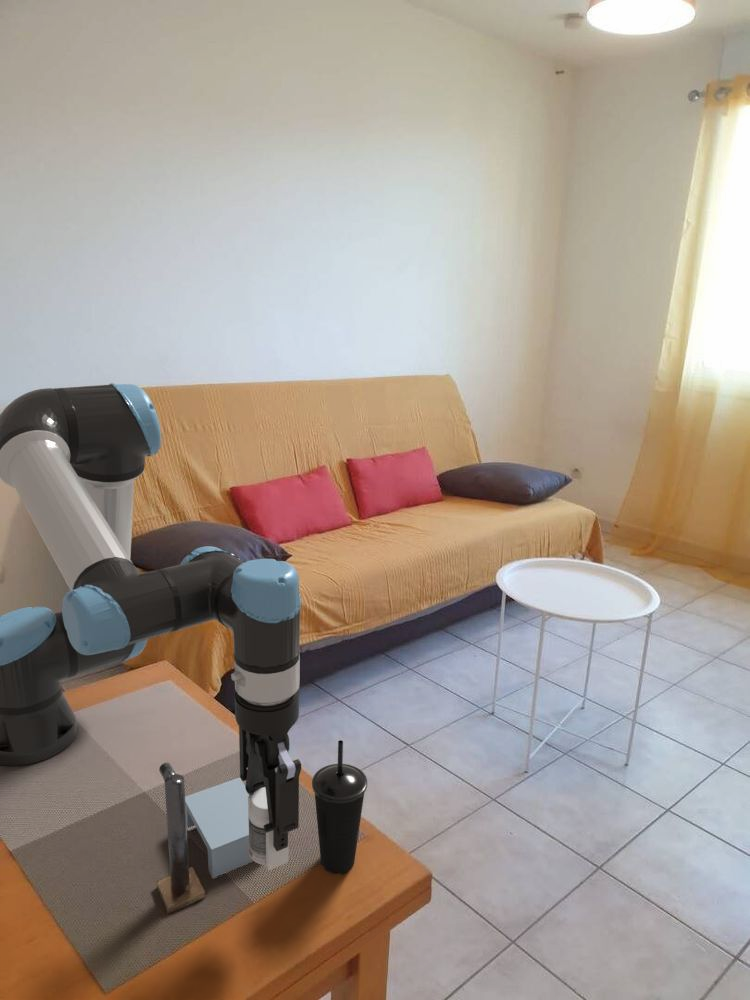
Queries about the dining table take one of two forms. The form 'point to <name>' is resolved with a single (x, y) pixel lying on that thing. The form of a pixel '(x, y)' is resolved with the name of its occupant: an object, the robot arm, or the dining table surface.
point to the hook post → (177, 847)
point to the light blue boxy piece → (222, 824)
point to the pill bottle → (258, 826)
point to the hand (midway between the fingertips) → (268, 849)
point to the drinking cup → (338, 812)
